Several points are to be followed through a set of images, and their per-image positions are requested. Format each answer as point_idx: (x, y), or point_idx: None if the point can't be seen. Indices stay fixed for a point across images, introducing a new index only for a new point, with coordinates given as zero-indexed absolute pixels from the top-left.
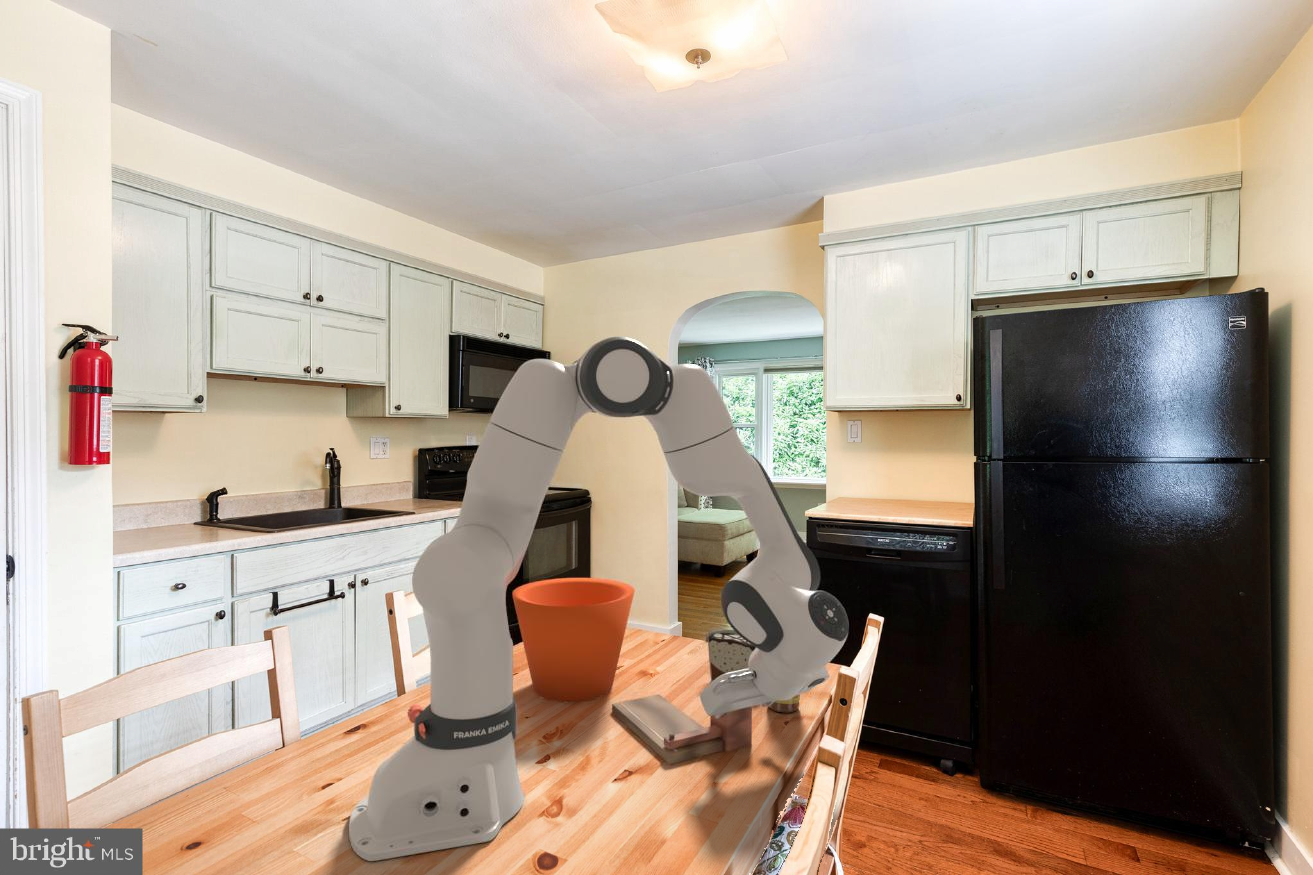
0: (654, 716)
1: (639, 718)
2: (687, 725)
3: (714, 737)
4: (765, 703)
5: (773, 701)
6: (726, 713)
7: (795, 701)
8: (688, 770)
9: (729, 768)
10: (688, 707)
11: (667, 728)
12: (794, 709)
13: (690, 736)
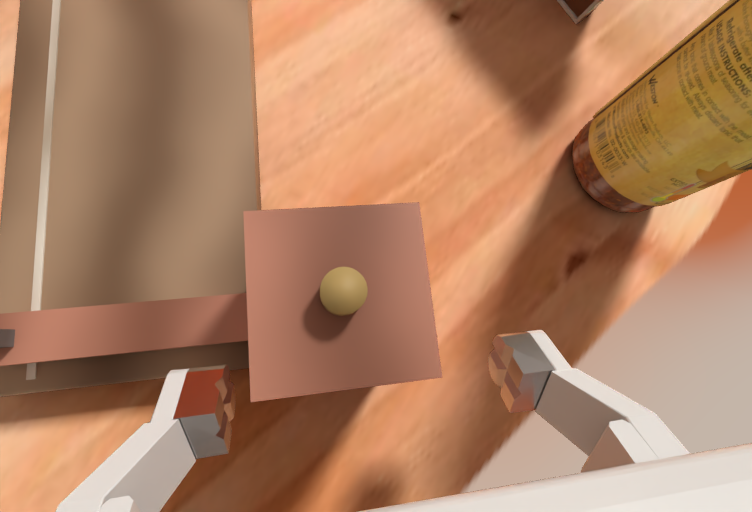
0: (126, 75)
1: (58, 65)
2: (205, 192)
3: (238, 341)
4: (503, 391)
5: (547, 417)
6: (218, 454)
7: (667, 203)
8: (60, 460)
9: (218, 500)
10: (324, 35)
11: (115, 183)
12: (640, 211)
13: (100, 350)
